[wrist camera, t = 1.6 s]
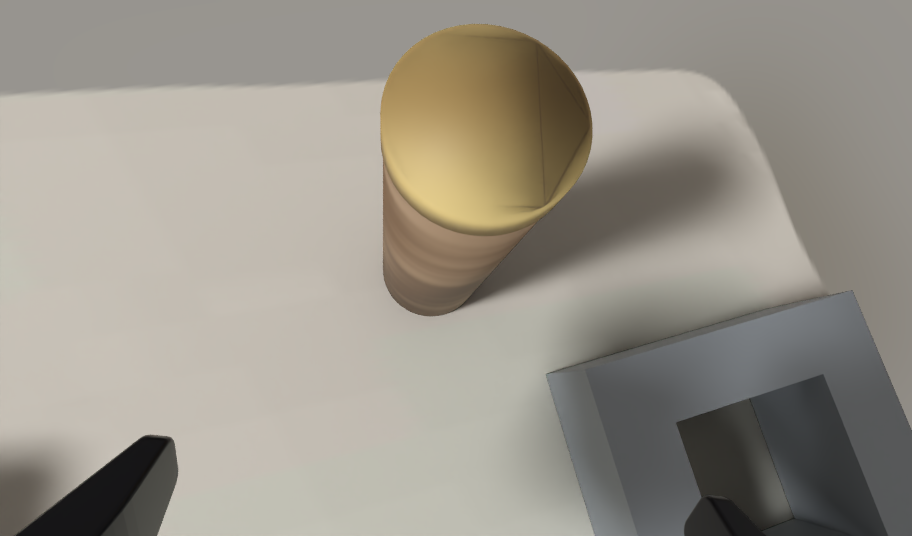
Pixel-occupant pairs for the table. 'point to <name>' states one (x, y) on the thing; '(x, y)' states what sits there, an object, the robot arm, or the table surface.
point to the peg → (472, 157)
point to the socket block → (778, 412)
